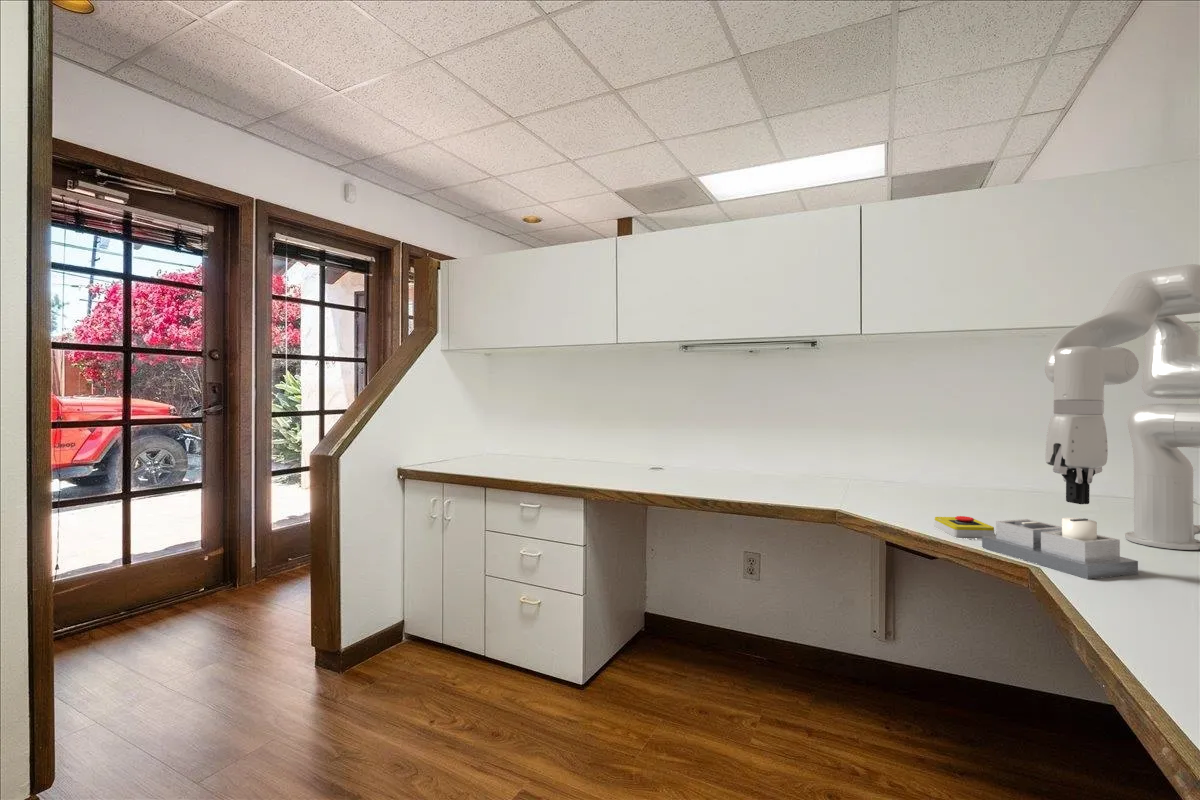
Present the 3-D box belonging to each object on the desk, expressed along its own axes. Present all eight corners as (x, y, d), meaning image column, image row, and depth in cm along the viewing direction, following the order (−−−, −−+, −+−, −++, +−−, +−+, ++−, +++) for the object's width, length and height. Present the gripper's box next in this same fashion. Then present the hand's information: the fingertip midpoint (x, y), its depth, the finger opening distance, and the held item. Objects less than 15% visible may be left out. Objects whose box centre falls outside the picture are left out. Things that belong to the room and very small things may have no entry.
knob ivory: (1075, 546, 113) (1075, 515, 113) (1104, 553, 108) (1103, 521, 108) (1055, 548, 112) (1055, 517, 111) (1082, 555, 106) (1082, 522, 106)
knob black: (1028, 547, 122) (1028, 519, 122) (1052, 553, 117) (1051, 524, 117) (1008, 549, 121) (1008, 520, 121) (1032, 555, 116) (1031, 525, 116)
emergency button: (957, 523, 131) (928, 510, 146) (957, 541, 131) (928, 526, 146) (1000, 524, 130) (967, 510, 145) (1000, 542, 130) (967, 527, 145)
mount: (1025, 544, 126) (1025, 517, 126) (1138, 574, 105) (1137, 541, 105) (982, 547, 124) (981, 520, 124) (1087, 579, 102) (1087, 545, 102)
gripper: (1087, 409, 115) (1087, 498, 115) (1028, 409, 111) (1028, 500, 111) (1129, 410, 107) (1128, 505, 107) (1067, 409, 104) (1067, 507, 104)
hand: (1077, 502), depth 109 cm, fingers closed
